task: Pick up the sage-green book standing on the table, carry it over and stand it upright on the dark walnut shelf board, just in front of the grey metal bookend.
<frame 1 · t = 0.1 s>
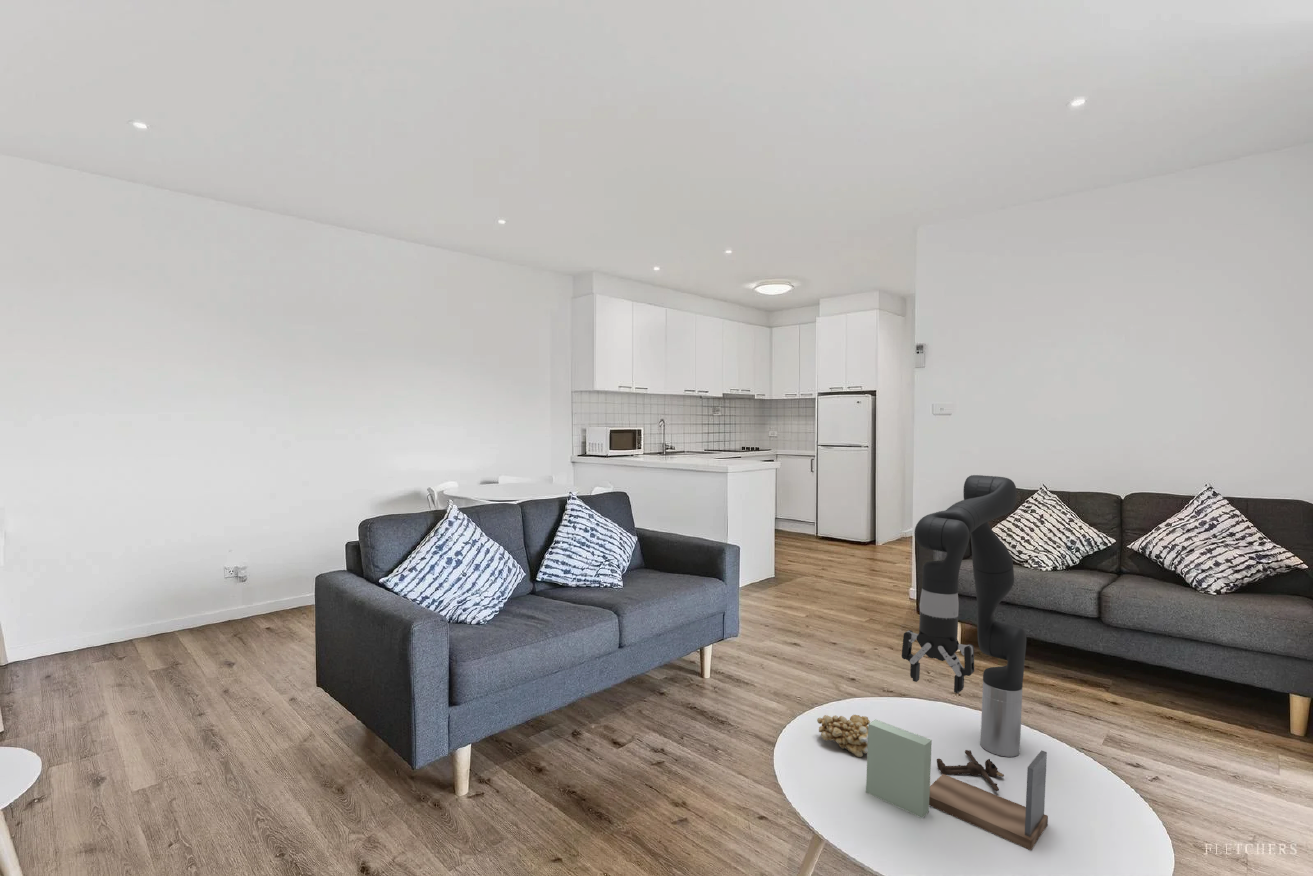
hand: (936, 686, 137), 29 cm above the table, tool pointing down, fingers open, 8 cm apart
sage book: (896, 801, 144), on the table
grey metal bookend: (1034, 835, 134), resting on walnut shelf board
mineral formation: (844, 745, 170), on the table
walnut shelf board: (983, 813, 141), on the table
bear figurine: (969, 775, 157), on the table
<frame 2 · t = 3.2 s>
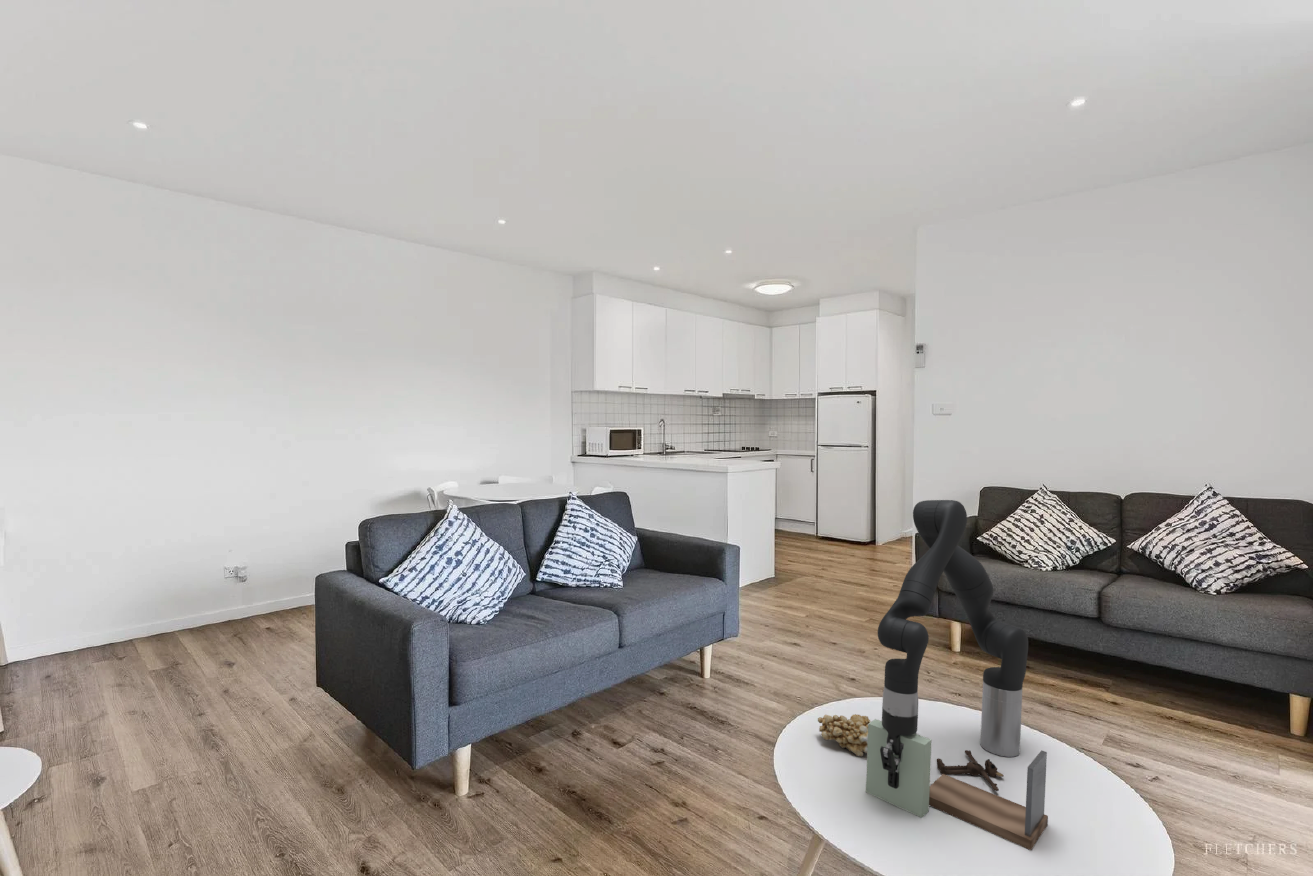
hand: (897, 783, 144), 4 cm above the table, tool pointing down, fingers closed on sage book, 3 cm apart
sage book: (896, 801, 145), on the table, touching gripper
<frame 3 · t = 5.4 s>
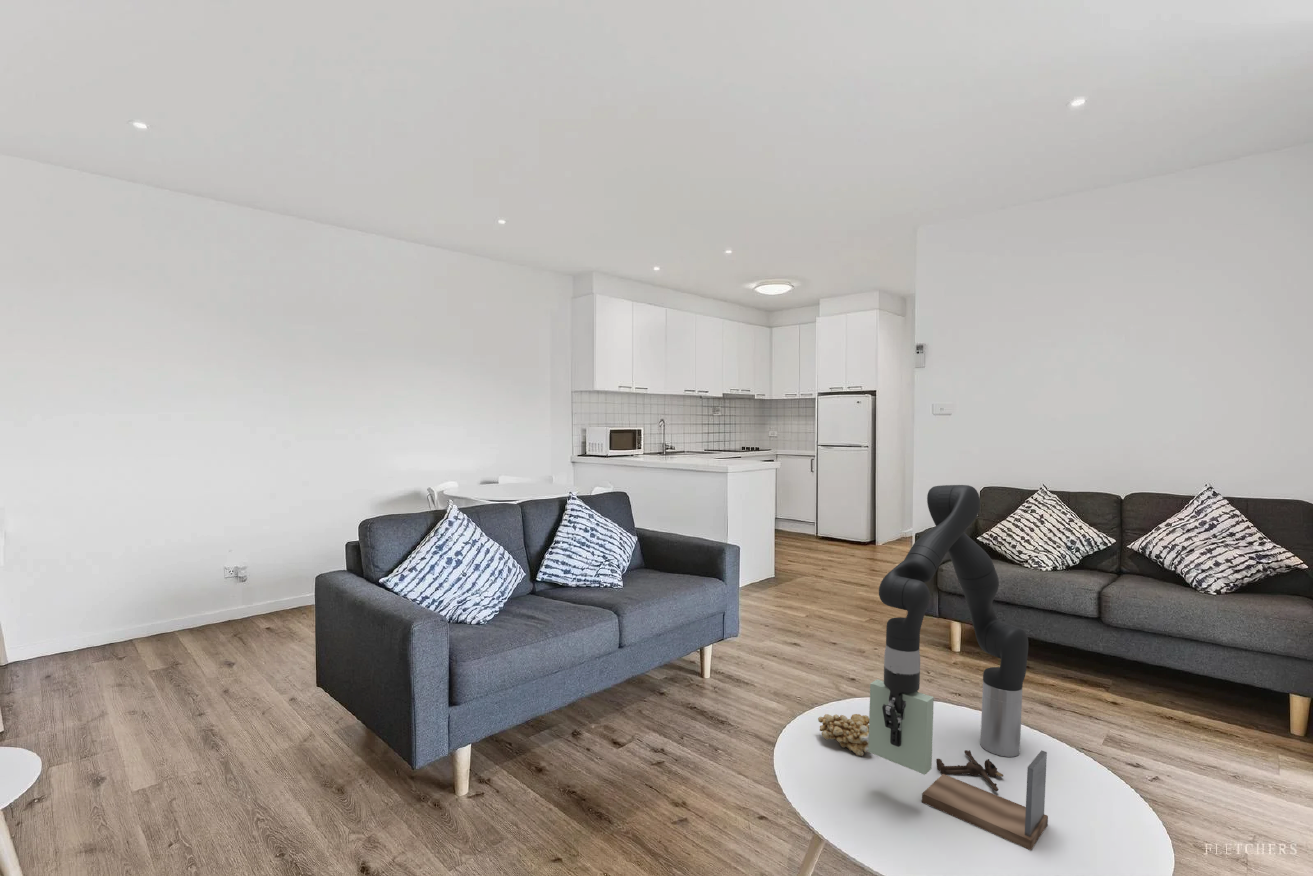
hand: (899, 741, 144), 14 cm above the table, tool pointing down, fingers closed on sage book, 3 cm apart
sage book: (899, 760, 144), point 9 cm above the table, touching gripper
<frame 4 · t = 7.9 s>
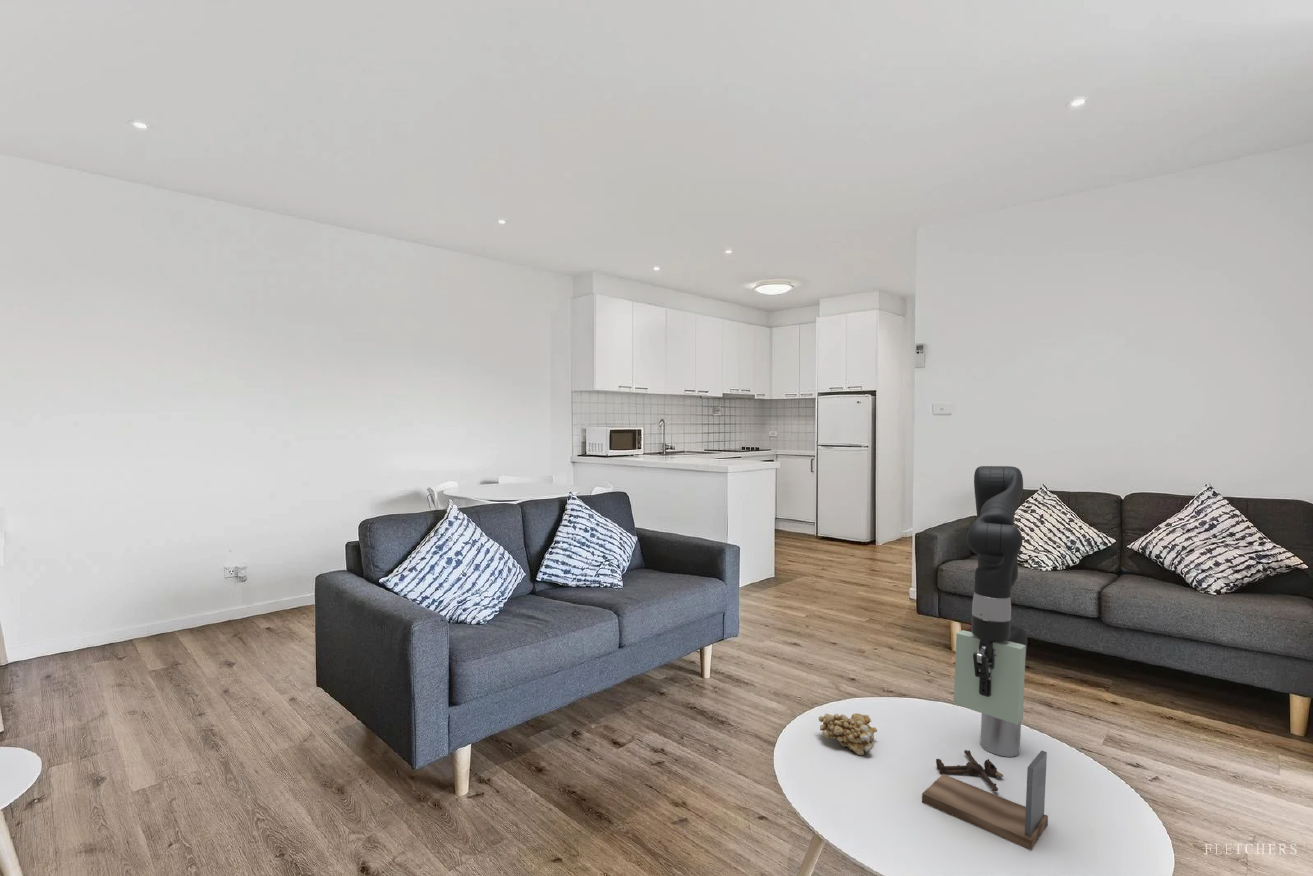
hand: (988, 692, 140), 27 cm above the table, tool pointing down, fingers closed on sage book, 3 cm apart
sage book: (987, 711, 140), point 23 cm above the table, touching gripper
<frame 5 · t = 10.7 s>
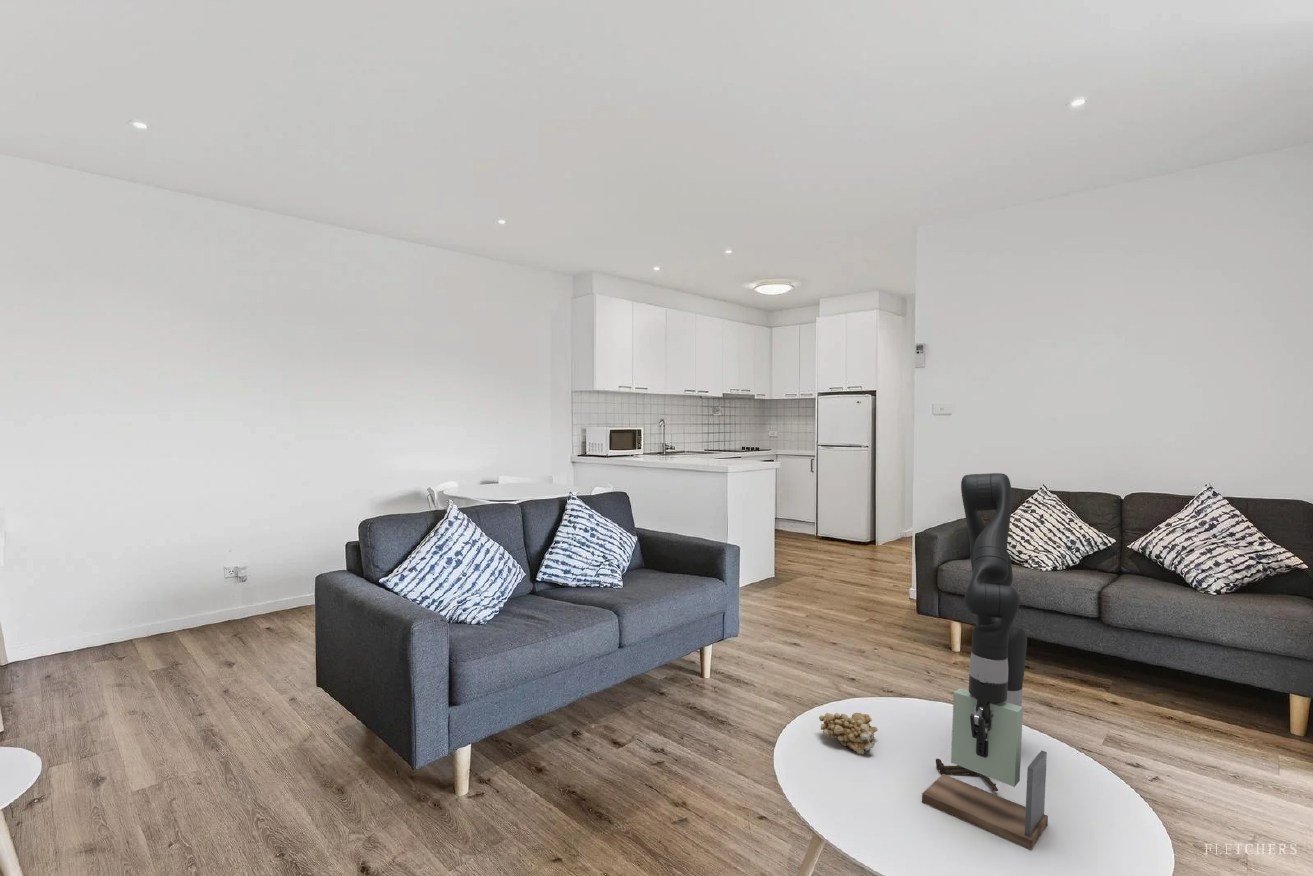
hand: (985, 752, 141), 14 cm above the table, tool pointing down, fingers closed on sage book, 3 cm apart
sage book: (984, 771, 141), point 9 cm above the table, touching gripper
when the fingers open (8 cm above the table, at t = 12.7 s): sage book drops 1 cm, resting on walnut shelf board.
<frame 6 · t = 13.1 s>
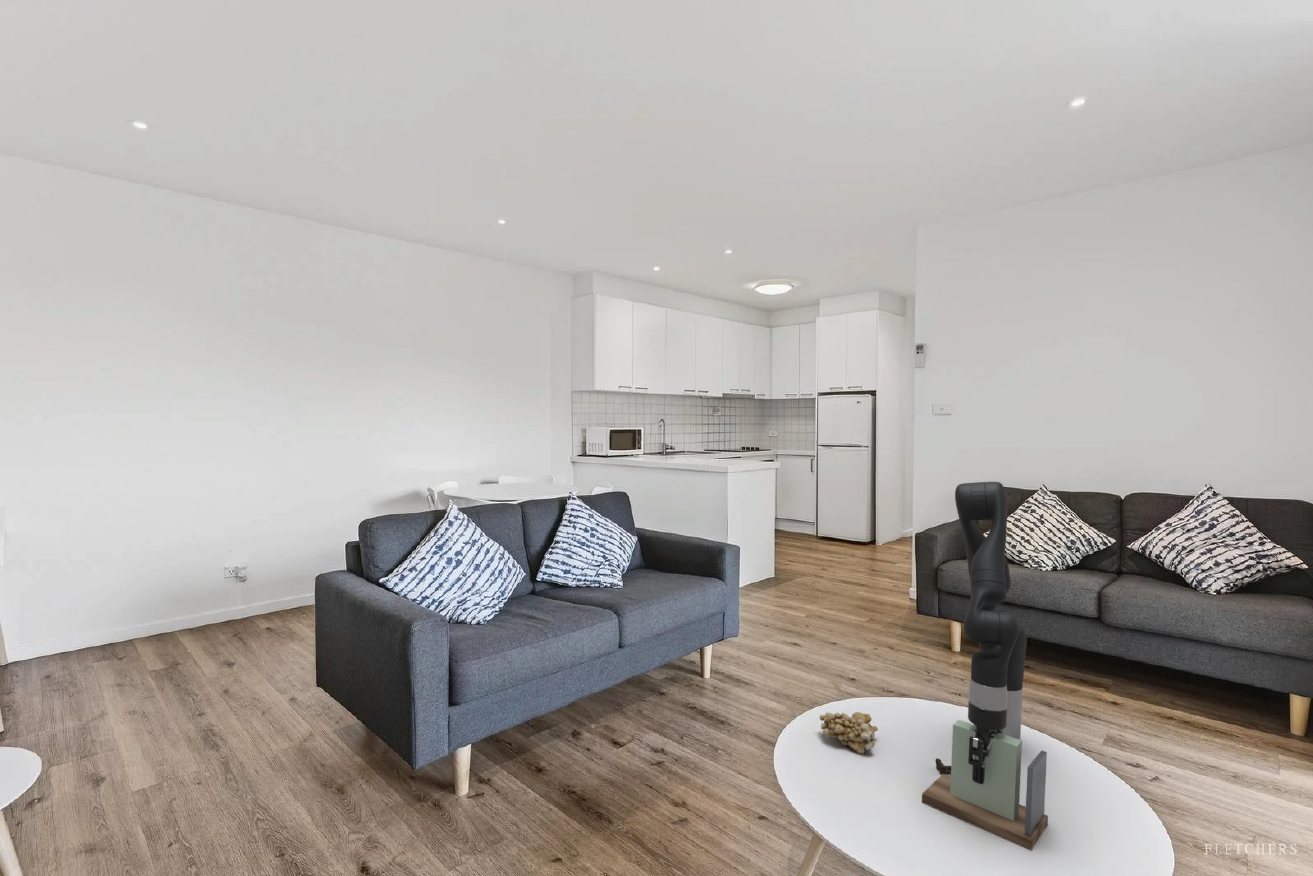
hand: (984, 775, 141), 8 cm above the table, tool pointing down, fingers open, 7 cm apart
sage book: (983, 804, 141), point 2 cm above the table, touching walnut shelf board
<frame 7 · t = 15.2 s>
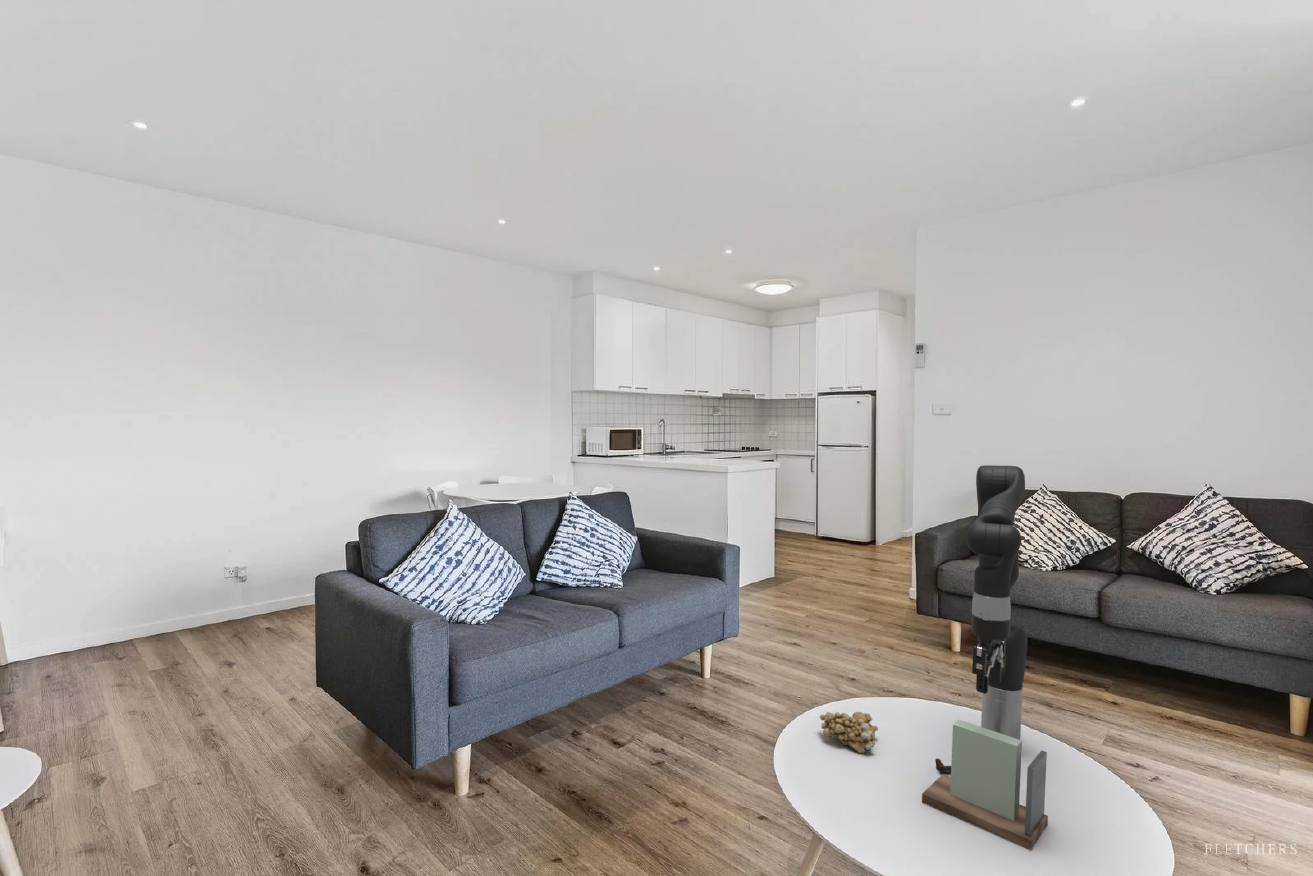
hand: (988, 686, 142), 28 cm above the table, tool pointing down, fingers open, 8 cm apart
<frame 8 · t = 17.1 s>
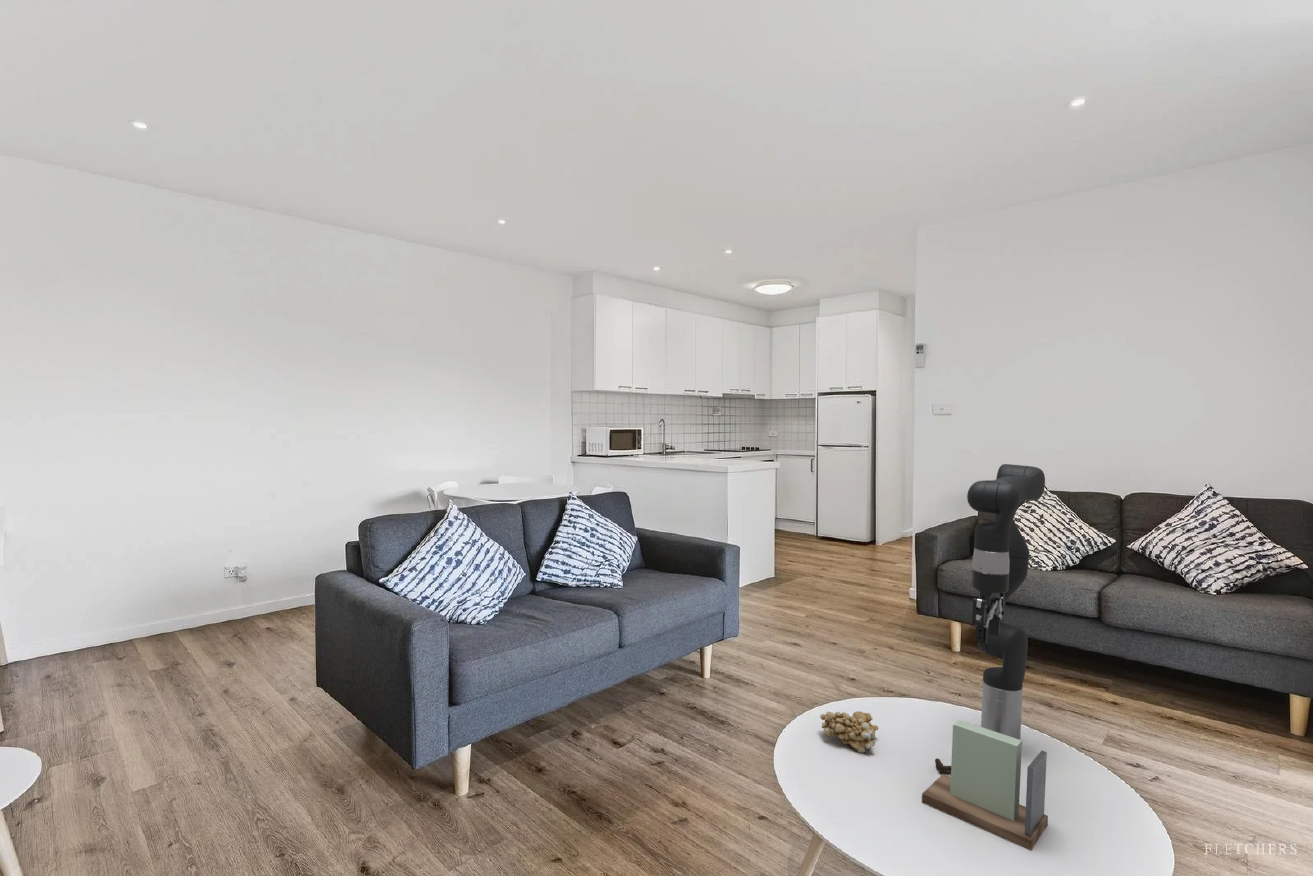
hand: (987, 639, 148), 36 cm above the table, tool pointing down, fingers open, 8 cm apart
at the end: sage book inside the target area on the walnut shelf board (0.1 cm from its centre), point 2.0 cm above the walnut shelf board's base; sage book tilted 0°; the gripper is holding nothing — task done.
